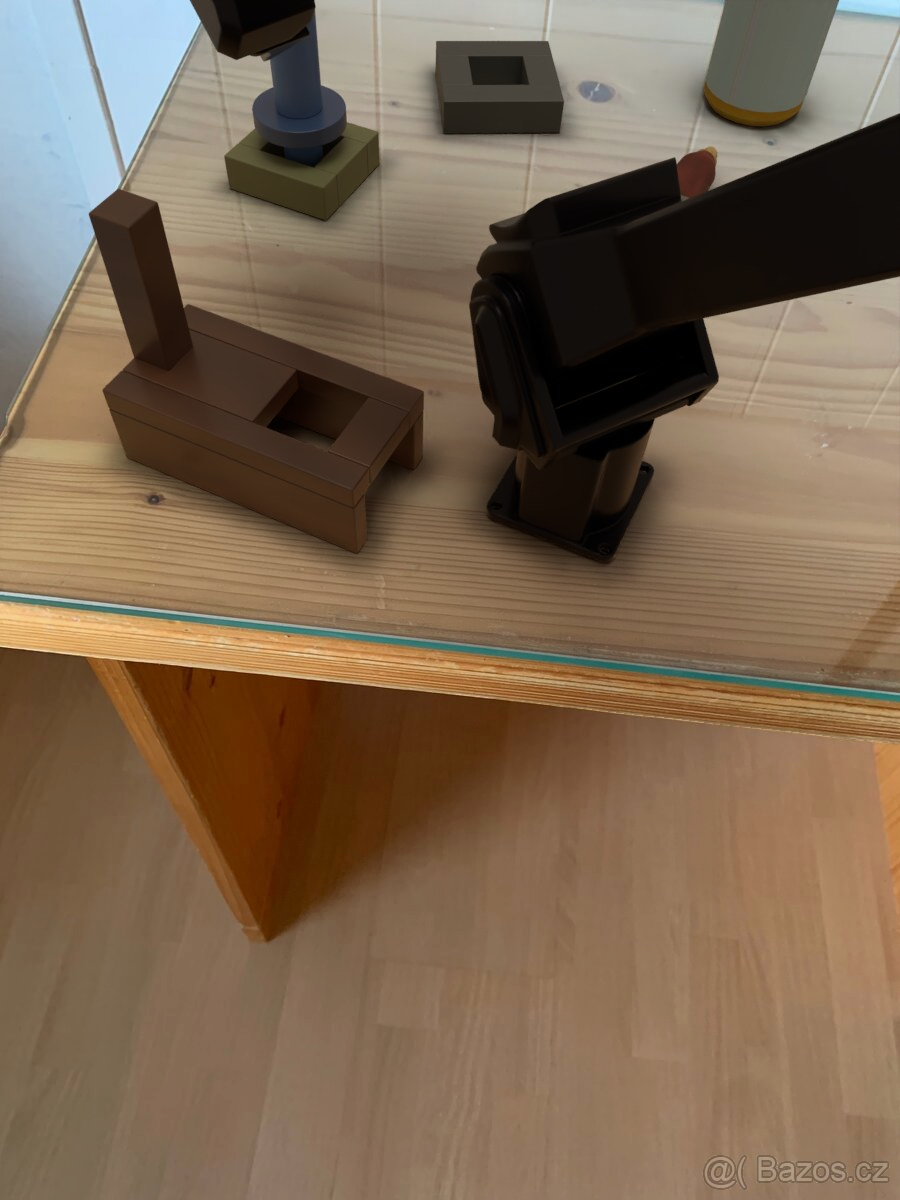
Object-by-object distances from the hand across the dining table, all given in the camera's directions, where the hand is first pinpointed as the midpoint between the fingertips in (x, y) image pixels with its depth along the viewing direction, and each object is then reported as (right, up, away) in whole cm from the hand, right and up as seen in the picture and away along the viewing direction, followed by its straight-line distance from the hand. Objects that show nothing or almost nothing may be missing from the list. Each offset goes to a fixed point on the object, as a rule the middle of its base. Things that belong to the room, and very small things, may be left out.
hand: (341, 19), depth 47 cm
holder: (+9, +6, +19) cm, 22 cm away
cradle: (-4, -2, +13) cm, 14 cm away
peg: (-4, -2, +13) cm, 14 cm away
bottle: (+27, +6, +20) cm, 34 cm away
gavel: (+17, -8, +10) cm, 22 cm away
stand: (-3, -22, 0) cm, 22 cm away
